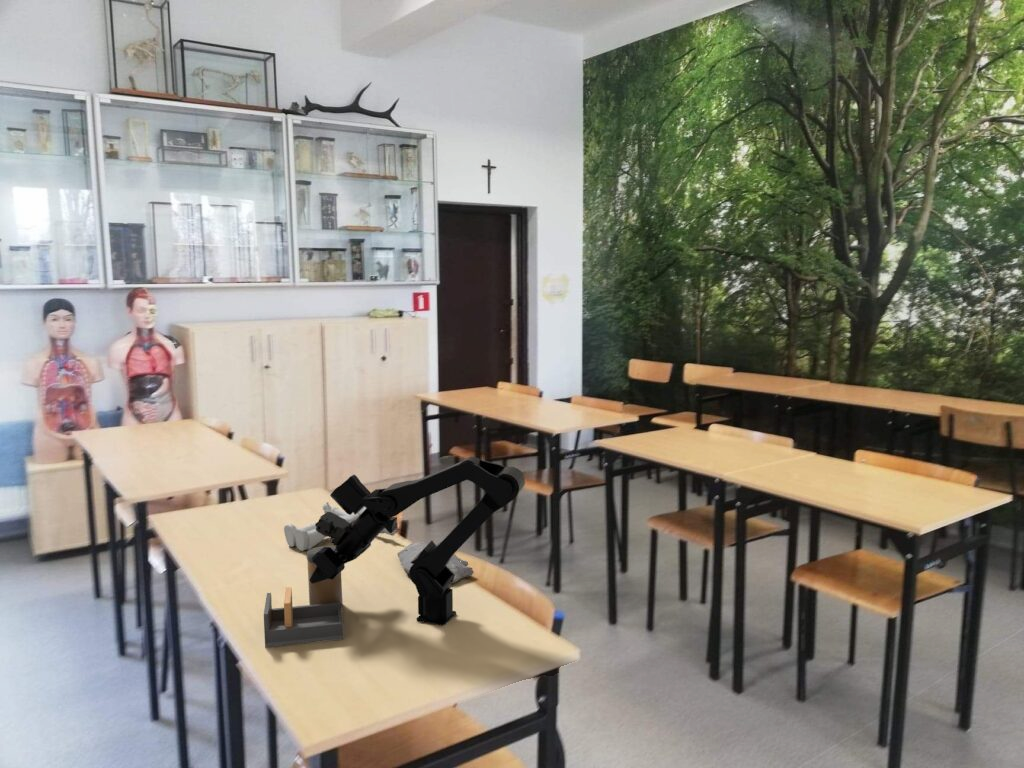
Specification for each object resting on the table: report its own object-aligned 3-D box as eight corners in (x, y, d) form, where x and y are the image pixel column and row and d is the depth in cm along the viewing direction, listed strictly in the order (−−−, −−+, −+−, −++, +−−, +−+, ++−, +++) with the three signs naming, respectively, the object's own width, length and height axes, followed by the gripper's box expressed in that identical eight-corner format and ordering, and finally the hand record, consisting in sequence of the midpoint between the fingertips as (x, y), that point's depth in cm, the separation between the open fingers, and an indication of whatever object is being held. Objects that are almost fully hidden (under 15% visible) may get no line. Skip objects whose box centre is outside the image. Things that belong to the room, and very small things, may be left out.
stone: (486, 579, 190) (431, 550, 209) (486, 557, 189) (431, 530, 209) (430, 593, 180) (378, 561, 200) (431, 570, 179) (378, 540, 199)
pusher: (292, 619, 163) (291, 587, 162) (291, 636, 156) (290, 603, 155) (286, 619, 163) (285, 587, 162) (285, 637, 155) (283, 603, 154)
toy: (258, 513, 218) (346, 485, 240) (261, 541, 219) (348, 511, 241) (330, 540, 196) (420, 506, 218) (333, 571, 198) (422, 534, 220)
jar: (349, 601, 174) (347, 548, 172) (330, 614, 167) (328, 559, 166) (321, 596, 176) (319, 544, 175) (302, 609, 170) (299, 555, 168)
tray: (341, 616, 167) (341, 586, 166) (343, 639, 157) (342, 606, 156) (268, 624, 164) (267, 593, 163) (265, 647, 153) (263, 614, 152)
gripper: (356, 490, 177) (313, 534, 181) (318, 515, 159) (271, 563, 163) (390, 526, 176) (346, 570, 180) (356, 555, 158) (308, 603, 162)
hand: (318, 575), depth 171 cm, fingers closed on jar, 7 cm apart
